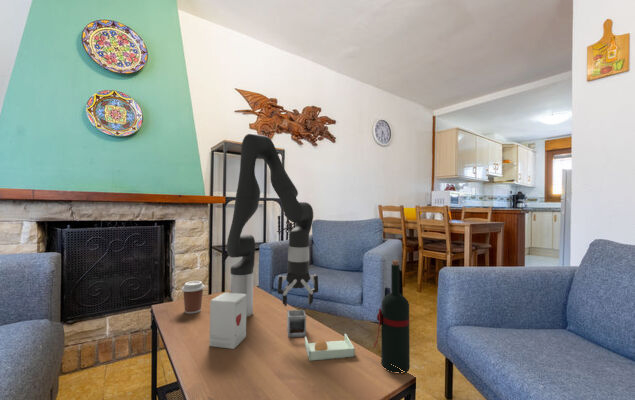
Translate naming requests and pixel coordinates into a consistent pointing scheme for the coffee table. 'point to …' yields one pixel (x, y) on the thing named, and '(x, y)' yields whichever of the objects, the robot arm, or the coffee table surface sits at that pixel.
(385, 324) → the wine bottle
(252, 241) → the robot arm
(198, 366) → the coffee table surface
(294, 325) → the grey hollow box
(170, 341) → the coffee table surface
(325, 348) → the ball
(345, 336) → the tray
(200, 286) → the coffee cup
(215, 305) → the supplement box
